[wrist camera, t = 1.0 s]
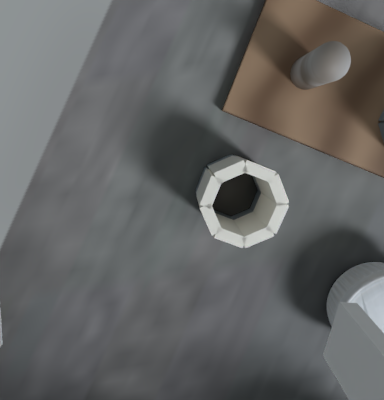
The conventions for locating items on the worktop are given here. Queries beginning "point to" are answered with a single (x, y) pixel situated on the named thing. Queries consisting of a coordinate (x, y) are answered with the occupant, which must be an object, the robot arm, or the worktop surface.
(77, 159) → the worktop surface
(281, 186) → the cream sleeve
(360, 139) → the pin board
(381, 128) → the seated sleeve
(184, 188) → the worktop surface
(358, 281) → the ramekin
